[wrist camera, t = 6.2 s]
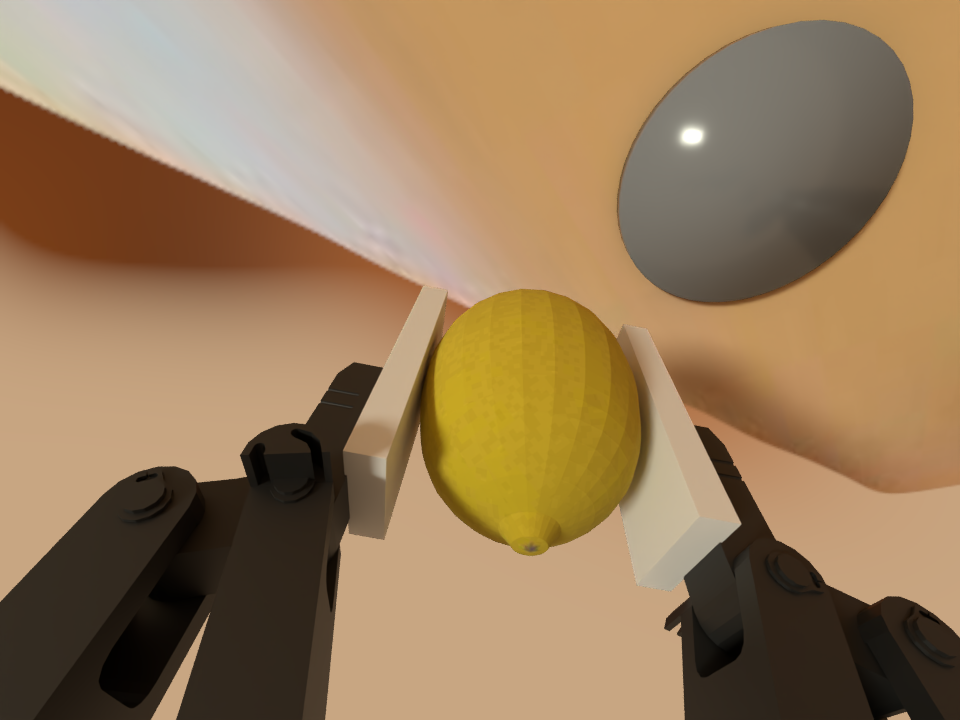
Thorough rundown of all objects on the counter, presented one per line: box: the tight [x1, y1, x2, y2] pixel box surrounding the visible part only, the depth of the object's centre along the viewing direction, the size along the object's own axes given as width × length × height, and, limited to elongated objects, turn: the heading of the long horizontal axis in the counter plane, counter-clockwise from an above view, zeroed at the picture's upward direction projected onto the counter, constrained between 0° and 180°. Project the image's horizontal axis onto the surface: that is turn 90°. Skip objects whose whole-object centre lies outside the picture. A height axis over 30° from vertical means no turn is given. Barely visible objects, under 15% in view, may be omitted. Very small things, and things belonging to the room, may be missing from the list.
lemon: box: [420, 289, 641, 556], centre depth 10 cm, size 6×6×8 cm
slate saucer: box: [617, 20, 913, 302], centre depth 22 cm, size 14×14×1 cm
